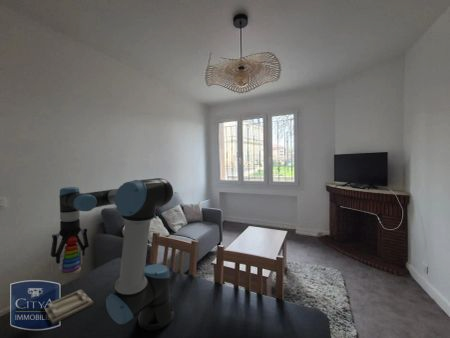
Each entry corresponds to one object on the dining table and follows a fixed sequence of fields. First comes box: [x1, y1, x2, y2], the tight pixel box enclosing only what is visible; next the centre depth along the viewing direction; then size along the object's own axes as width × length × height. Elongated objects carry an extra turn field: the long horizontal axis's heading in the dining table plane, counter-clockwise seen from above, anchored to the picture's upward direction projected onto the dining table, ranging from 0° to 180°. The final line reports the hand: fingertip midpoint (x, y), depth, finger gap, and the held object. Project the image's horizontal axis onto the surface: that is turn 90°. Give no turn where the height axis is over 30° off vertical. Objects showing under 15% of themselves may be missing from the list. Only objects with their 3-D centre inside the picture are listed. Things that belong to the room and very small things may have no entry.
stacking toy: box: [60, 236, 82, 277], centre depth 100 cm, size 8×8×19 cm
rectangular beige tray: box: [42, 289, 94, 326], centre depth 101 cm, size 16×16×2 cm
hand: (70, 265), depth 101 cm, fingers closed on stacking toy, 7 cm apart
